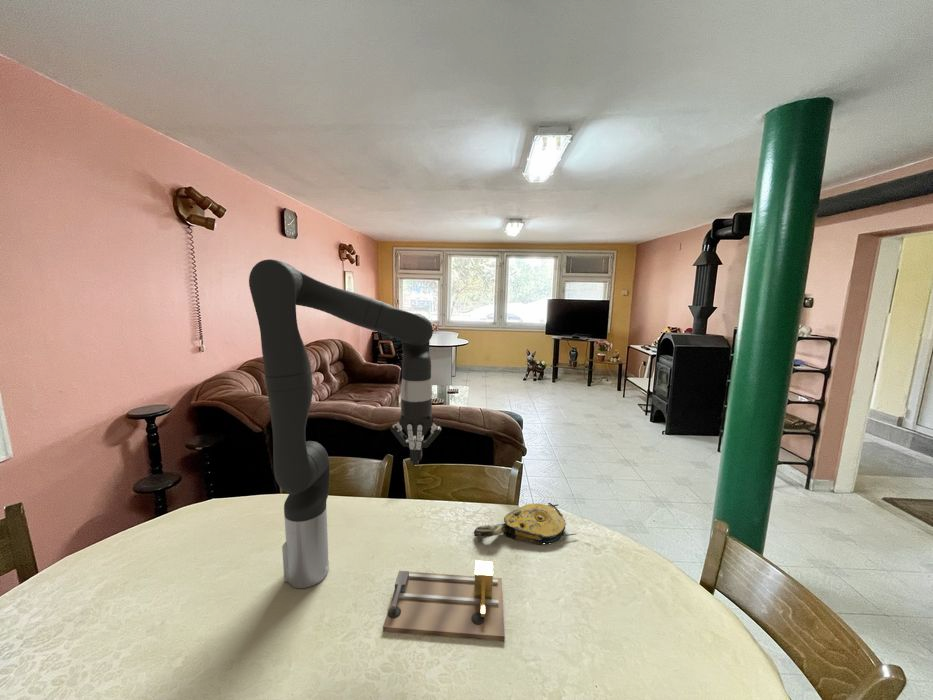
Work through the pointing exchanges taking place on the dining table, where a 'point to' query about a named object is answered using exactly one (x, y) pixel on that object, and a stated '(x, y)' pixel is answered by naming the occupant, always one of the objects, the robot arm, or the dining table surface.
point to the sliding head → (483, 583)
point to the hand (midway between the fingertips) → (416, 461)
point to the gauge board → (444, 607)
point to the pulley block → (529, 525)
